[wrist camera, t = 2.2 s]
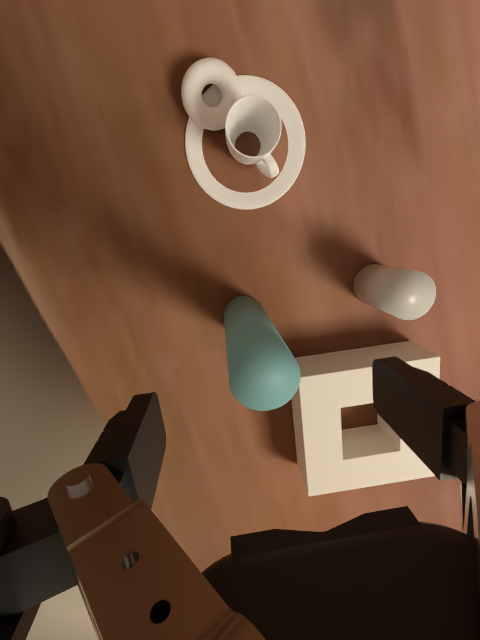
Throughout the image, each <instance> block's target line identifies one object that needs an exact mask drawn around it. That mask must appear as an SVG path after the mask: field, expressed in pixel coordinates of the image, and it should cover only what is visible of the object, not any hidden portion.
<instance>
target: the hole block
mask: <svg viewBox="0 0 480 640" xmlns="http://www.w3.org/2000/svg"><path fill="white" fill-rule="evenodd" d="M393 356H396V357H398V358H400V359H401V360H403V361H404V362H406V363H407V364H409V365H411V366H412V367H415V368H418V369H421V370H424V371H427V372H429V373H431V374H432V375H434V376H436V377H437V378H439V374H440V356H438V355H436V354H434V353H432V352H431V351H429V350H427V349H425V348H423V347H421V346H419V345H418V344H416V343H414V342H412V341H405V342H398V343H391V344H384V345H377V346H371V347H364V348H357V349H350V350H343V351H337V352H330V353H323V354H316V355H309V356H302V357H296V358H295V359H296V361H297V363H298V365H299V368H300V374H301V378H300V384H299V387H298V390H297V391H296V393H295V395H294V396H293V397H292V398H291V401H292V412H293V422H294V433H295V443H296V454H297V465H298V467H299V470H300V473H301V476H302V479H303V482H304V484H305V487H306V490H307V493H308V496H314V495H321V494H327V493H333V492H339V491H345V490H351V489H358V488H364V487H370V486H376V485H382V484H388V483H394V482H401V481H407V480H413V479H419V478H425V477H431V476H435V475H434V474H433V473H432V472H431V470H430V469H429V468H428V467H427V466H426V465H425V464H424V463H423V462H422V461H421V460H420V459H419V458H418V456H417V455H416V454H415V453H414V452H413V451H412V450H411V449H410V448H409V447H408V446H407V445H406V444H405V443H404V441H403V440H402V439H401V438H400V437H399V436H398V435H397V434H396V433H395V432H394V431H393V430H392V429H391V427H390V426H389V425H388V424H387V423H386V422H385V421H384V420H383V419H382V418H381V417H380V416H379V414H378V413H377V424H375V425H369V426H362V427H356V428H349V429H343V430H341V409H340V408H343V407H350V406H356V405H363V404H369V403H373V387H372V363H373V361H374V360H375V359H380V358H386V357H393Z"/></svg>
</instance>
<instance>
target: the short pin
mask: <svg viewBox="0 0 480 640" xmlns="http://www.w3.org/2000/svg"><path fill="white" fill-rule="evenodd" d="M353 289H354V293H355V295H356V297H357V298H358V299H359V300H360V301H362V302H364V303H366V304H369V305H371V306H373V307H375V308H378V309H380V310H382V311H384V312H386V313H389V314H391V315H393V316H395V317H398V318H400V319H403V320H414V319H417V318H419V317H421V316H423V315H424V314H425V313H427V312H428V311H429V309H430V308H431V307H432V305H433V303H434V301H435V297H436V287H435V283H434V281H433V280H432V278H431V277H430V276H429V275H427V274H426V273H423V272H420V271H414V270H408V269H402V268H396V267H391V266H385V265H379V264H371V265H368V266H365V267H364V268H362V269H361V270H360V271H359V272H358V273H357V275H356V277H355V279H354V283H353Z"/></svg>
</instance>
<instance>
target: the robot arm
mask: <svg viewBox="0 0 480 640" xmlns="http://www.w3.org/2000/svg"><path fill="white" fill-rule="evenodd" d="M372 387H373V403H374V406H375V409H376V411H377V413H378V414H379V416H380V417H381V418H382V419H383V420H384V421H385V422H386V423H387V424H388V425H389V426H390V427H391V429H392V430H393V431H394V432H395V433H396V434H397V435H398V436H399V437H400V438H401V439H402V440H403V441H404V443H405V444H406V445H407V446H408V447H409V448H410V449H411V450H412V451H413V452H414V453H415V454H416V455H417V456H418V458H419V459H420V460H421V461H422V462H423V463H424V464H425V465H426V466H427V467H428V468H429V469H430V470H431V472H432V473H433V474H434V475H435V476H436V477H437V478H438V479H439V480H440V481H442V480H448V479H454V478H459V479H460V480H461V488H460V501H461V531H458V530H455V529H452V528H449V527H446V526H442V525H438V524H433V523H427V522H418V520H417V519H416V517H415V516H414V515H413V513H412V512H411V510H410V509H409V508H408V506H405V507H399V508H393V509H388V510H382V511H376V512H370V513H365V514H362V515H360V516H358V517H356V518H354V519H352V520H350V521H347V522H345V523H343V524H341V525H339V526H337V527H335V528H332V529H330V530H328V531H325V532H312V531H296V530H281V529H272V530H266V531H261V532H255V533H249V534H243V535H237V536H232V537H230V538H231V554H229V555H227V556H225V557H223V558H221V559H220V560H218V561H216V562H215V563H213V564H212V565H211V566H209V567H208V568H207V569H205V570H204V571H203V572H202V573H201V572H200V571H199V569H198V568H197V567H196V566H195V564H194V563H193V562H192V561H191V559H190V558H189V557H188V556H187V554H186V553H185V552H184V551H183V549H182V548H181V547H180V546H179V544H178V543H177V542H176V541H175V539H174V538H173V537H172V536H171V534H170V533H169V532H168V531H167V529H166V528H165V527H164V526H163V524H162V523H161V522H160V521H159V519H158V518H157V517H156V516H155V514H154V513H153V512H152V511H151V508H152V504H153V500H154V495H155V491H156V487H157V482H158V478H159V474H160V470H161V465H162V461H163V457H164V453H165V448H166V433H165V428H164V423H163V418H162V414H161V409H160V404H159V400H158V396H157V394H156V393H155V392H153V393H146V394H139V395H134V396H133V398H132V400H131V402H130V403H129V405H128V407H127V409H126V410H125V411H119V412H118V413H117V414H116V415H115V416H114V417H112V418H111V419H110V420H109V421H108V423H107V425H106V426H105V428H104V430H103V432H102V433H101V435H100V437H99V440H98V441H97V442H96V444H95V446H94V447H93V449H92V451H91V452H90V454H89V456H88V457H87V459H86V461H85V463H84V464H83V465H82V466H79V467H77V468H74V469H72V470H71V471H69V472H67V473H66V474H64V475H63V476H61V477H60V478H59V479H58V480H57V481H56V482H55V483H54V484H53V485H52V486H51V488H50V490H49V492H48V497H47V498H45V499H43V500H40V501H38V502H35V503H32V504H30V505H27V506H25V507H22V508H20V509H17V510H14V511H12V508H11V506H10V503H9V501H8V500H7V499H6V498H3V497H0V640H26V637H27V635H28V632H29V630H30V628H31V625H32V623H33V621H34V618H35V616H36V614H37V611H38V609H39V607H40V604H41V602H43V601H45V600H47V599H49V598H51V597H53V596H55V595H57V594H59V593H61V592H64V591H66V590H68V589H70V588H72V587H74V586H76V585H78V587H79V590H80V593H81V595H82V598H83V601H84V603H85V606H86V609H87V611H88V614H89V616H90V619H91V622H92V625H93V627H94V630H95V632H96V635H97V638H98V640H480V401H478V402H476V401H474V400H472V399H471V398H469V397H468V396H466V395H464V394H463V393H461V392H460V391H458V390H456V389H455V388H453V387H452V386H448V384H447V383H445V382H444V381H442V380H439V378H437V377H436V376H434V375H432V374H431V373H429V372H427V371H424V370H421V369H418V368H415V367H412V366H411V365H409V364H407V363H406V362H404V361H403V360H401V359H400V358H398V357H396V356H393V357H386V358H380V359H375V360H374V361H373V363H372Z"/></svg>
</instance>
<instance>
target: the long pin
mask: <svg viewBox="0 0 480 640" xmlns="http://www.w3.org/2000/svg"><path fill="white" fill-rule="evenodd" d="M224 324H225V336H226V349H227V361H228V373H229V384H230V389H231V391H232V393H233V395H234V397H235V398H236V399H237V400H238V401H239V402H240V403H241V404H242V405H244V406H246V407H247V408H250V409H253V410H258V411H269V410H273V409H276V408H279V407H281V406H283V405H284V404H286V403H287V402H288V401H289V400H290V399H291V398H292V397H293V396H294V395H295V393H296V391H297V390H298V387H299V384H300V378H301V374H300V368H299V365H298V363H297V361H296V359H295V358H294V356H293V355H292V353H291V352H290V350H289V348H288V347H287V345H286V344H285V342H284V341H283V339H282V337H281V336H280V334H279V333H278V331H277V330H276V328H275V327H274V325H273V323H272V322H271V320H270V319H269V317H268V316H267V314H266V312H265V311H264V309H263V308H262V306H261V305H260V303H259V302H258V301H257V300H256V299H254V298H252V297H250V296H238V297H236V298H234V299H232V300H231V301H230V302H229V303H228V304H227V306H226V308H225V310H224Z"/></svg>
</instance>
